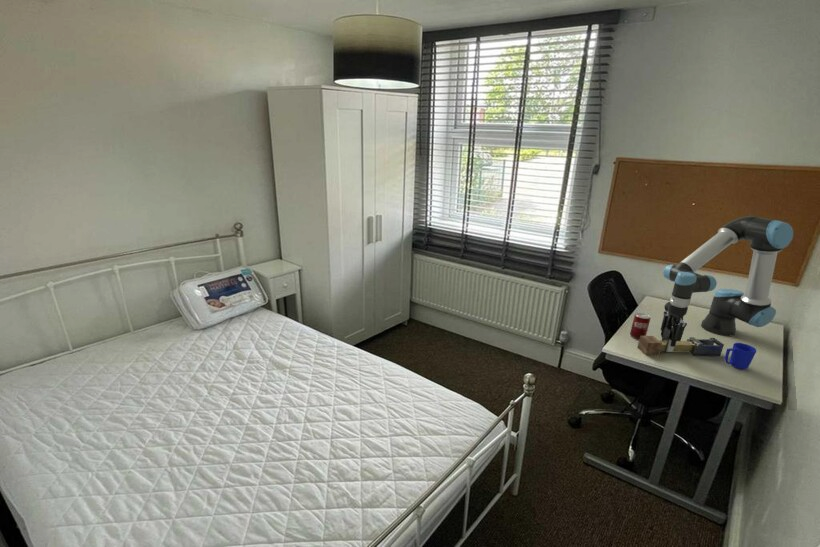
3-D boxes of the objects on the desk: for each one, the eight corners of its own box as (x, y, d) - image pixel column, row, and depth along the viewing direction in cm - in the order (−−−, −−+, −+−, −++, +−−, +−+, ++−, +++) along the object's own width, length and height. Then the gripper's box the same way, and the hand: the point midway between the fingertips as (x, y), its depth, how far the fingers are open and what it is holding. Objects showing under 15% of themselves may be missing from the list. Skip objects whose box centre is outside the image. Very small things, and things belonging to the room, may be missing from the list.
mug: (714, 361, 186) (721, 342, 183) (738, 361, 187) (745, 342, 184) (729, 371, 178) (736, 352, 175) (754, 371, 179) (761, 351, 176)
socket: (650, 347, 197) (653, 335, 194) (658, 355, 190) (662, 343, 188) (637, 347, 196) (640, 335, 194) (645, 355, 190) (648, 342, 188)
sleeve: (710, 349, 197) (713, 337, 195) (720, 356, 191) (724, 344, 189) (684, 348, 197) (687, 337, 195) (693, 355, 191) (697, 343, 188)
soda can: (647, 340, 203) (653, 319, 199) (632, 339, 205) (637, 317, 201) (642, 334, 210) (647, 313, 206) (627, 332, 211) (632, 311, 207)
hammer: (695, 347, 195) (702, 327, 191) (701, 352, 191) (708, 331, 188) (646, 346, 195) (651, 326, 191) (651, 351, 191) (656, 330, 187)
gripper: (659, 297, 193) (648, 339, 201) (682, 312, 177) (669, 358, 185) (674, 297, 193) (663, 340, 201) (699, 312, 177) (685, 358, 185)
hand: (666, 348), depth 193 cm, fingers closed on hammer, 4 cm apart
